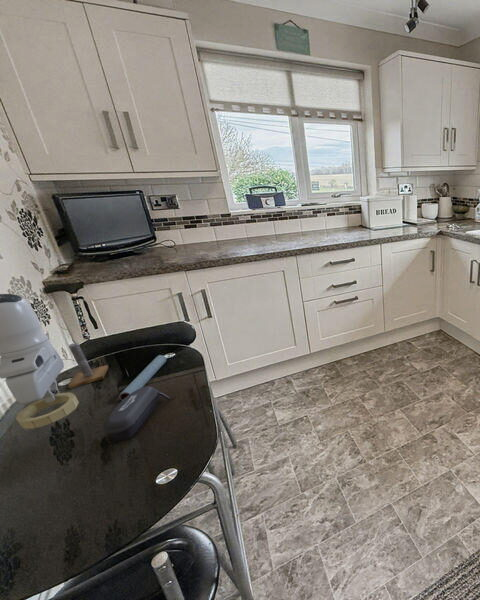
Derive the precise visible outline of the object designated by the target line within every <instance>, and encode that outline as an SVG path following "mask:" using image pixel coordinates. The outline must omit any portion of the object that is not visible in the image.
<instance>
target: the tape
mask: <svg viewBox="0 0 480 600" xmlns="http://www.w3.org/2000/svg"><path fill="white" fill-rule="evenodd" d="M55 396H56V399H55V401H54V402H50V403H46V402H45V400H44V398H42V399H41V400H39V401H35V402H32V403H29V405H27V406H26V407H25V408H23V409H21V410H20V411H19V412H18V413H17V415H16V417H15V420H16V421H17V422H18V425H19V426H20V427H21V428H23V429H24V430H30V429H31V430H32V429H38V428H41V427H45V426H47V425H50V424H52V423H55V422H57V421H60V420H61V419H64V418H66V417H67V416H69V415H70V414H71V413H73V411H75V410H76V409H78V408H77V407H78V405H79V403H80V401H79V400H78V398H77V396H76V395H75V393H72V392H59V394H55ZM62 403H63V405H61V406H59V407H58V408H56V409H54V410H52V411H49V412H48V413H46V414H42V415H38V416H36V417H33V416H35V415H36V414H38V413H39V412H40V411H43V410H45V409H47V408H49V407H52V406H56V405H58V404H62Z"/></svg>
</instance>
